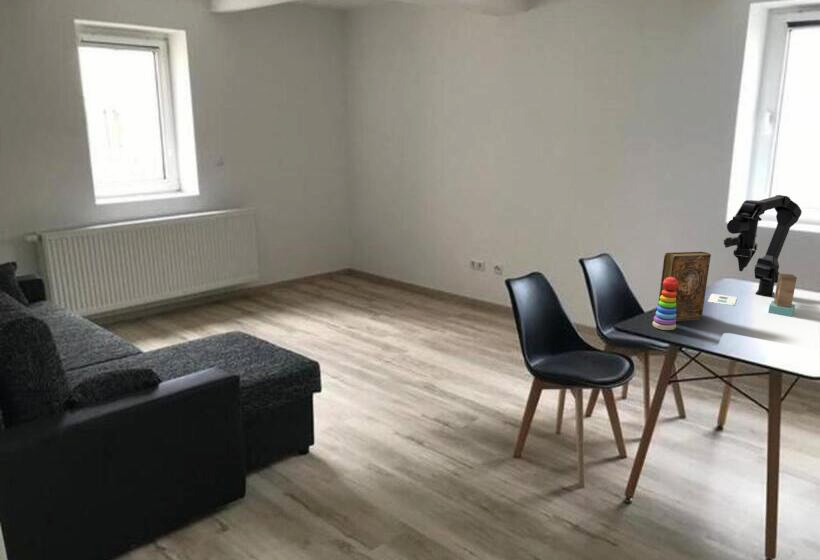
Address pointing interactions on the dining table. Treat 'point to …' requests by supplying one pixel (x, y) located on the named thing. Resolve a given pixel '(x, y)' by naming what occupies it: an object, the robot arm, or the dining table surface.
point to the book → (687, 282)
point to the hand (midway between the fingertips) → (742, 269)
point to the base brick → (781, 309)
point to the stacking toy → (667, 306)
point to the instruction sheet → (722, 299)
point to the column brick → (785, 290)
